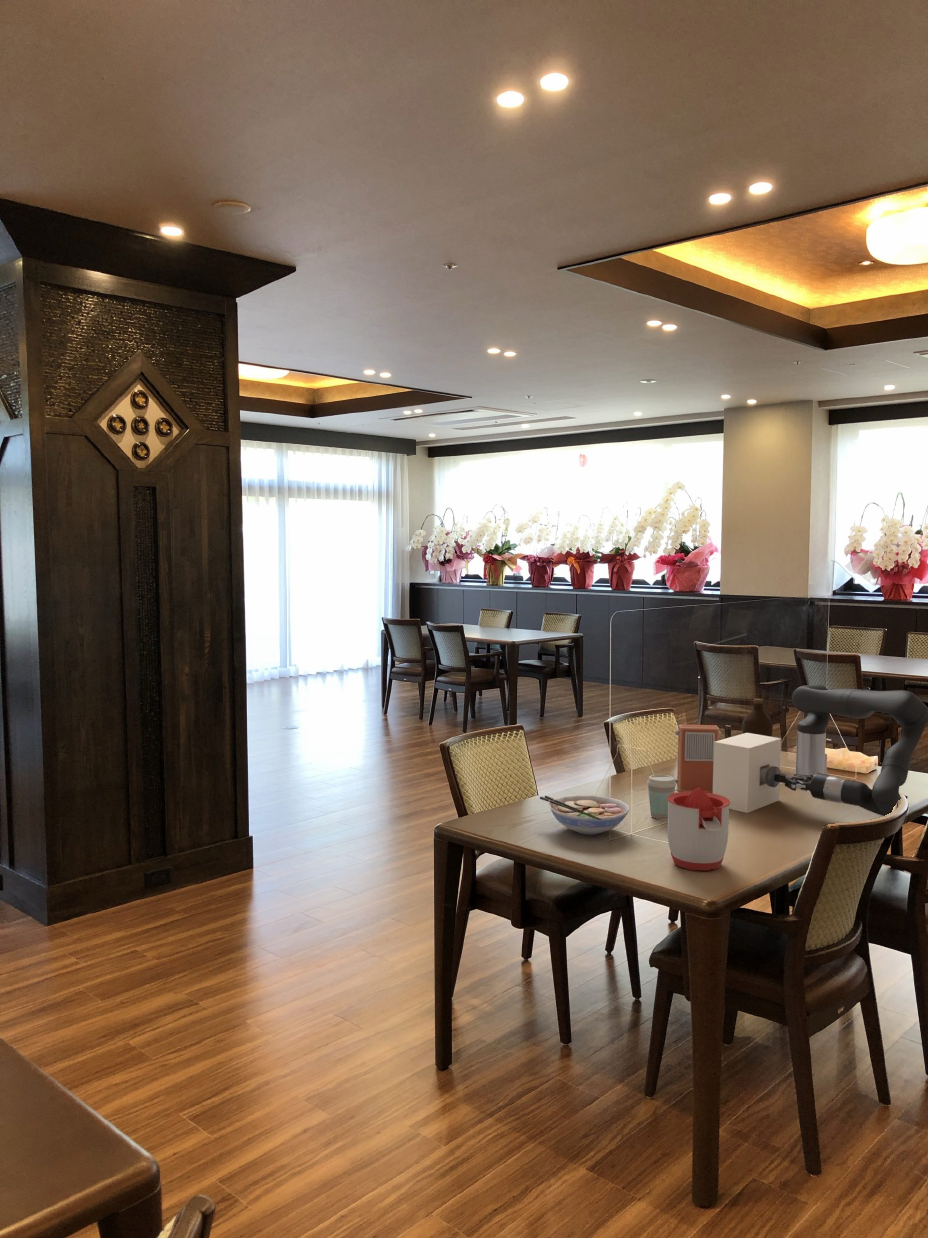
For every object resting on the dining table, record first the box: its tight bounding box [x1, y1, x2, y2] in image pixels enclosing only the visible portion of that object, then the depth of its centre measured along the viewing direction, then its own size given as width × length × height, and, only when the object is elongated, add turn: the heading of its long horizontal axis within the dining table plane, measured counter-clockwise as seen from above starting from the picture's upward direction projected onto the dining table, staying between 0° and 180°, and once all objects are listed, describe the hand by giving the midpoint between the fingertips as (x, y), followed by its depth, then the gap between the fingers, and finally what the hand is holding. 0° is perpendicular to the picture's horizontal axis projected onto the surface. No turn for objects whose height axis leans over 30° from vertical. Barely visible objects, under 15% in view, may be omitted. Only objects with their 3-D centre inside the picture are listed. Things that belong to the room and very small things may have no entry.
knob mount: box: [713, 733, 782, 814], centre depth 296 cm, size 20×12×20 cm, turn 134°
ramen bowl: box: [539, 794, 631, 836], centre depth 267 cm, size 25×23×8 cm
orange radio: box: [674, 723, 722, 793], centre depth 310 cm, size 21×7×15 cm
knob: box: [760, 766, 782, 787], centre depth 292 cm, size 6×9×6 cm
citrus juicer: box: [667, 788, 730, 871], centre depth 239 cm, size 16×17×20 cm
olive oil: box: [741, 698, 774, 737], centre depth 342 cm, size 11×11×25 cm
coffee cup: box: [646, 774, 677, 820], centre depth 280 cm, size 9×9×12 cm
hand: (775, 777), depth 289 cm, fingers closed
